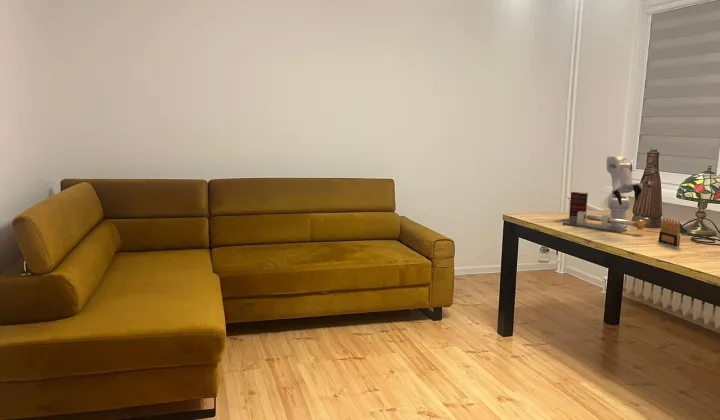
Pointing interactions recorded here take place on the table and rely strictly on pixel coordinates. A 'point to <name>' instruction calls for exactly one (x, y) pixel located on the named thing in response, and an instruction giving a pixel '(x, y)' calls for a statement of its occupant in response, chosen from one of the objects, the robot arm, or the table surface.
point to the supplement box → (577, 204)
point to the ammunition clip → (670, 232)
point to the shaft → (619, 221)
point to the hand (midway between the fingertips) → (628, 201)
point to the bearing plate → (604, 224)
